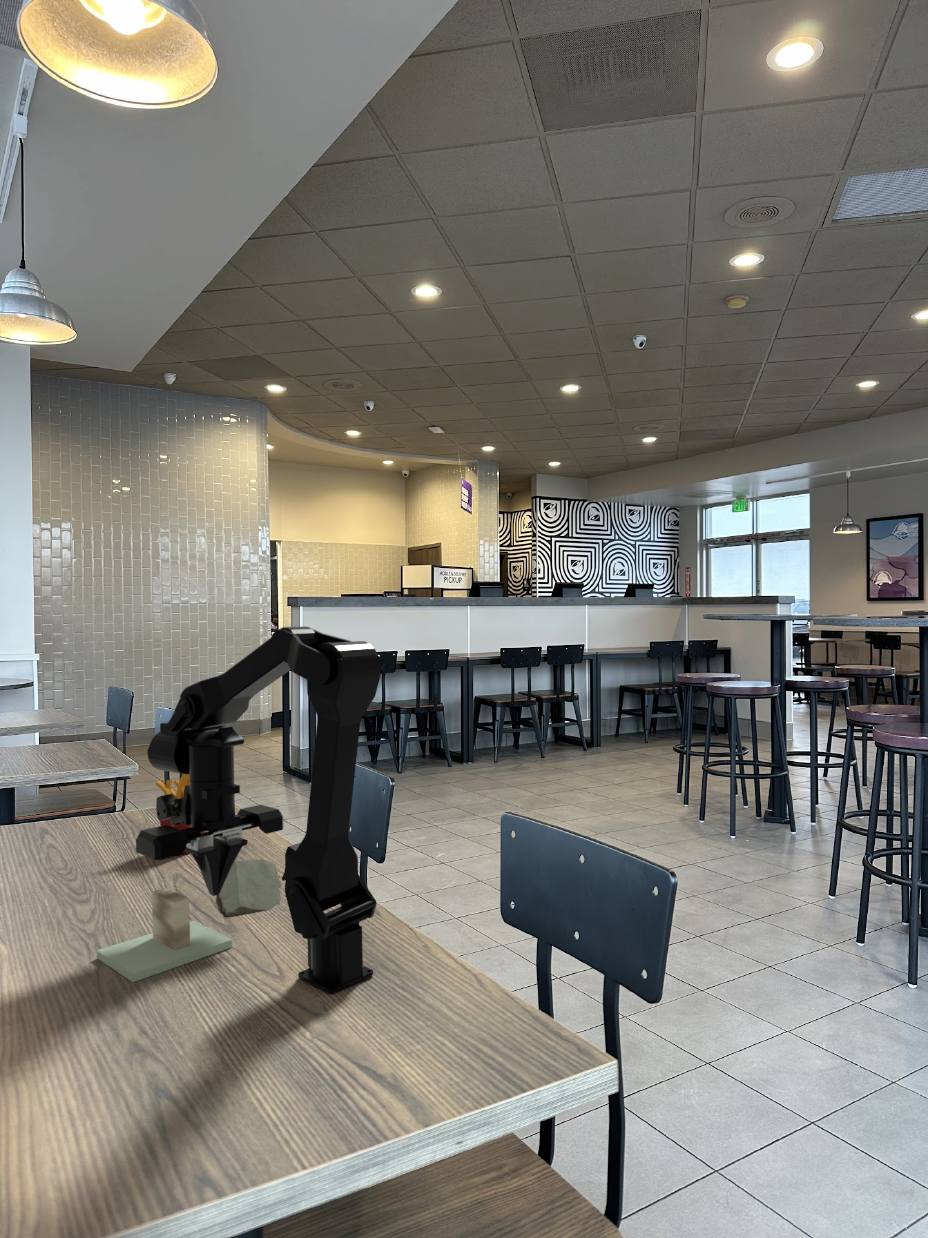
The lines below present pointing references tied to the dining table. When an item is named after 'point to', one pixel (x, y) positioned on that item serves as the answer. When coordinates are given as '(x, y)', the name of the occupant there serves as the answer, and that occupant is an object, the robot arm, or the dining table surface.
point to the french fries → (180, 794)
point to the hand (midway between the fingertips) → (214, 894)
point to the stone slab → (250, 888)
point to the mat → (161, 953)
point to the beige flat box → (171, 918)
